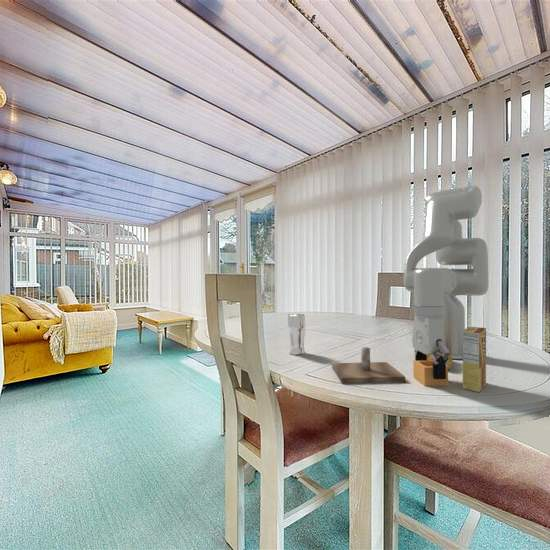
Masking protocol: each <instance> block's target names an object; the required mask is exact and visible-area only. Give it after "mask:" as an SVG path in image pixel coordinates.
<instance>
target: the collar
mask: <svg viewBox="0 0 550 550" xmlns="http://www.w3.org/2000/svg"><path fill="white" fill-rule="evenodd" d="M412 363H413V364H412V365H413V366H412V367H413V370H412V371H413V379H415V380H416V381H417V382H419V383H420V384H422V385H423V386H424V387H435V386H436V387H437V386H440V387H441V386H442V387H445V386H449V369H448V367H447V366H446V379H434V378H433V364H435V363H434V361H433V360H424V361H415V360H413V362H412Z"/></svg>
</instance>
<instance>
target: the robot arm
mask: <svg viewBox="0 0 550 550" xmlns="http://www.w3.org/2000/svg"><path fill="white" fill-rule="evenodd" d="M482 195H483V194H482V191H481V189H480V187H478V186H477V185H469V186H464V187H463V186H462V187H456V188H451V189H450V188H449V189H444V190H443V189H442V190H439V191H435V192H432V193H429V194H428V195H426V197H425V199H424V205H425V213H424V214H425V217H424V224H423V233H422V234H423V236H422V238H421V240H419V241H418V242H417V243H416V244H415V245H414V246H413V247H412V248H411V250H410V251H409V252H408V254H407V255H406V259H405V262H404V267H403V268H404V269H403V270H404V271H403V286H404V288H405V290H406V291H408V292H410V293H413V312H414V313H413V316H414V317H413V322H412V325H413V326H412V348H413V349H414V361H424V360H427V355H432V358H433V361H434V363H435V364H433V378H434V379H446V364H447V360H448V356H449V354H450V356H451V358H452V360H463V333H462V331H464V330H465V329H466V327H465V325H466V320H465V317H466V316H465V311H466V310H465V306H464V304H463V303H462V302H461V300H459V298H458V297H457V296H471V297H472V296H475V297H477V296H483V295H485V294H487V293H488V291H489V252H488V246H487V243H486V241H485V240H484V239H483V238H480V237H470V238H468V237H467V238H463V226H462V223H461V222H460V220H468V219H469V220H470V219H473V218H475V217H476V216H477V215H478V213H479V210H480V209H481V208H480V207H481V205H482V202H483V196H482ZM432 253H435V259H436V261H437V263H438V264H439V265H441V266H471V267H472V268H448V267H419V268H417V265H418V264H419V262H420V261H422V260H423V258H425V257H427V256H428V255H430V254H432ZM436 356H439V358H438V359H437V357H436Z"/></svg>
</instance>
